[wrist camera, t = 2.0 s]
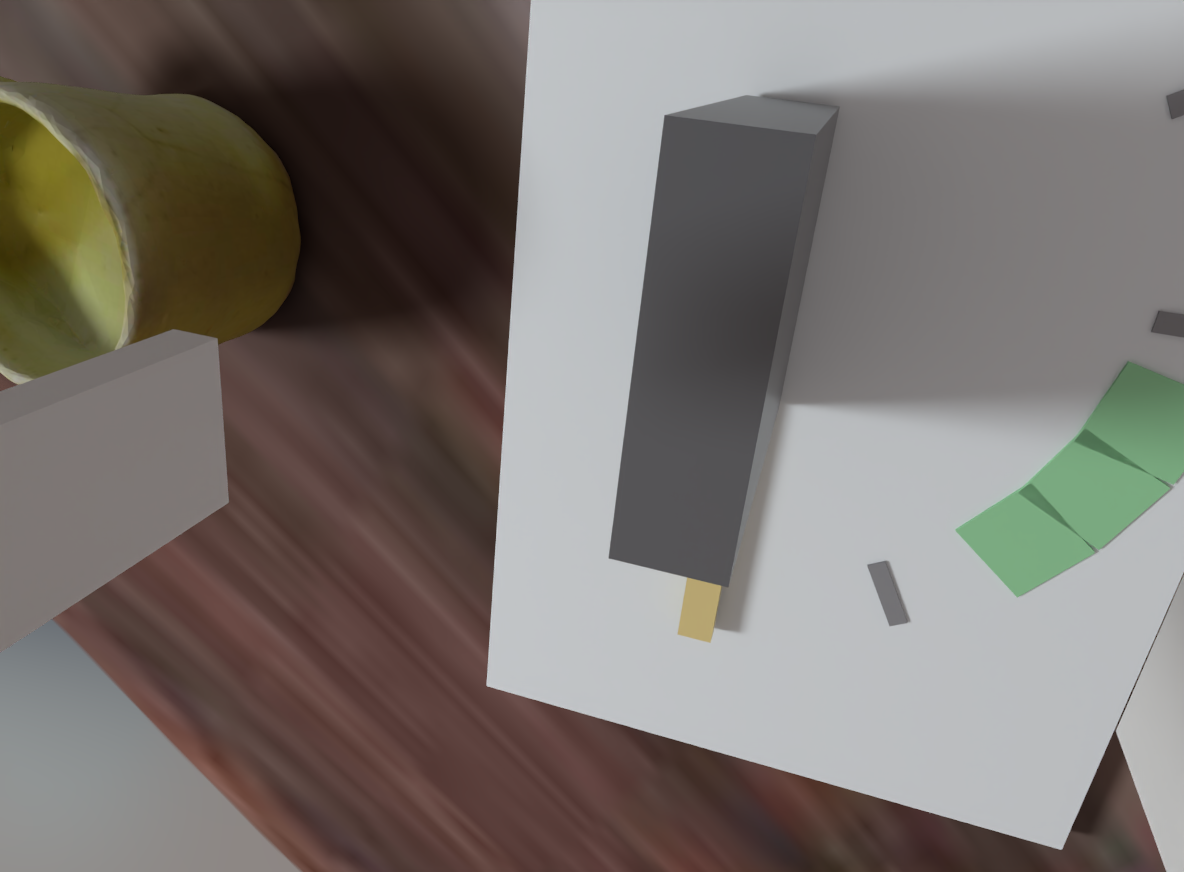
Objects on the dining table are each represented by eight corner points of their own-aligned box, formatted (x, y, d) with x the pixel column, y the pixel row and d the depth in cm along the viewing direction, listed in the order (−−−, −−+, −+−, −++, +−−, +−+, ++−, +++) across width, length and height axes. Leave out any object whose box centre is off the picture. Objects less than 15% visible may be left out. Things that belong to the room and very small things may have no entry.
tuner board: (549, -99, 26) (536, -106, 25) (1427, -32, 21) (1454, -36, 20) (495, 671, 37) (485, 687, 36) (1056, 828, 33) (1062, 852, 32)
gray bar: (746, 95, 25) (664, 115, 15) (839, 106, 25) (816, 134, 15) (661, 620, 33) (570, 858, 23) (732, 638, 32) (669, 890, 22)
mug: (387, 238, 29) (78, 317, 22) (280, 378, 37) (21, 471, 29) (194, -70, 30) (-170, -88, 23) (126, 128, 37) (-166, 161, 30)
